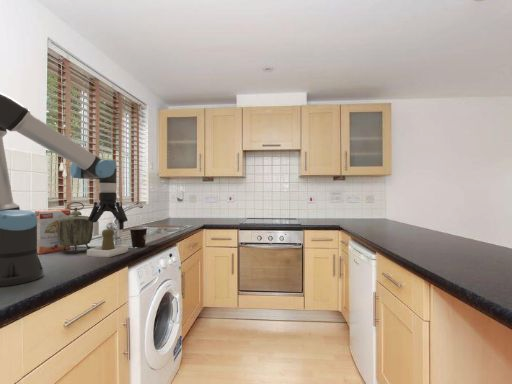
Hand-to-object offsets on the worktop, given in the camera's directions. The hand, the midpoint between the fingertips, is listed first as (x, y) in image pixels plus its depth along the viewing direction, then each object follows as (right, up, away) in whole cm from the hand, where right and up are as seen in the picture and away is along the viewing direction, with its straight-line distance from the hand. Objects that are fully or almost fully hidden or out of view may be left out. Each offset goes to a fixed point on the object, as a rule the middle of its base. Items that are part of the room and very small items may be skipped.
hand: (107, 236), depth 134 cm
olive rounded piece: (0, -8, 0) cm, 8 cm away
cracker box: (-31, -9, +7) cm, 33 cm away
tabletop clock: (-18, -9, +5) cm, 21 cm away
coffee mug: (+7, -9, +16) cm, 20 cm away
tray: (0, -9, 0) cm, 9 cm away
